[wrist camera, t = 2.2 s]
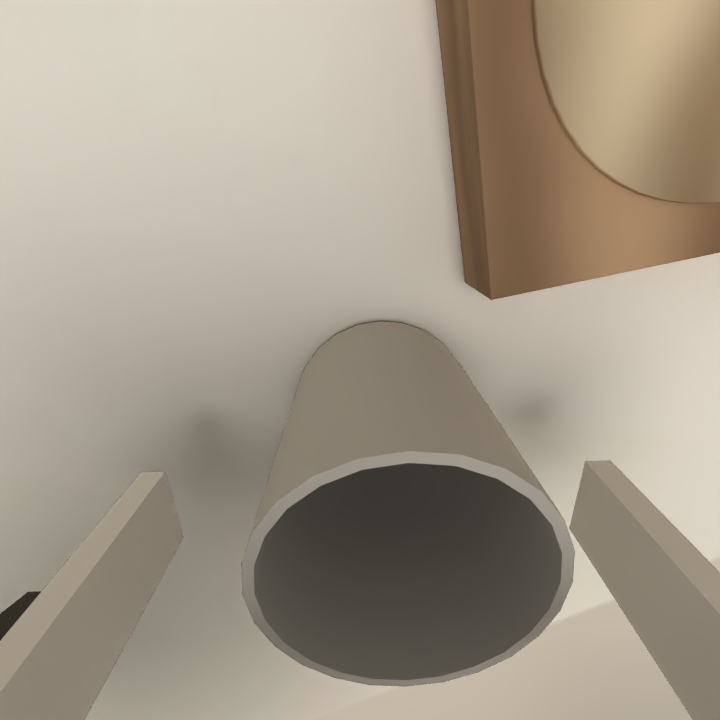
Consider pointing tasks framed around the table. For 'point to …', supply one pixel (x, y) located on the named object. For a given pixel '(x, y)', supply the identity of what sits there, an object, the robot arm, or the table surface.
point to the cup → (401, 521)
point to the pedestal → (581, 136)
